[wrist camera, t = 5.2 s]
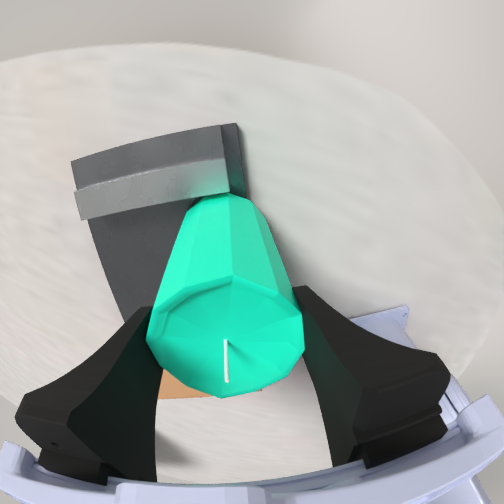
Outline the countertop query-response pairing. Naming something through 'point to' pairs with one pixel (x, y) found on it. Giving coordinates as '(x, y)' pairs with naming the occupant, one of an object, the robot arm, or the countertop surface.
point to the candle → (226, 303)
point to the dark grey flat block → (151, 202)
